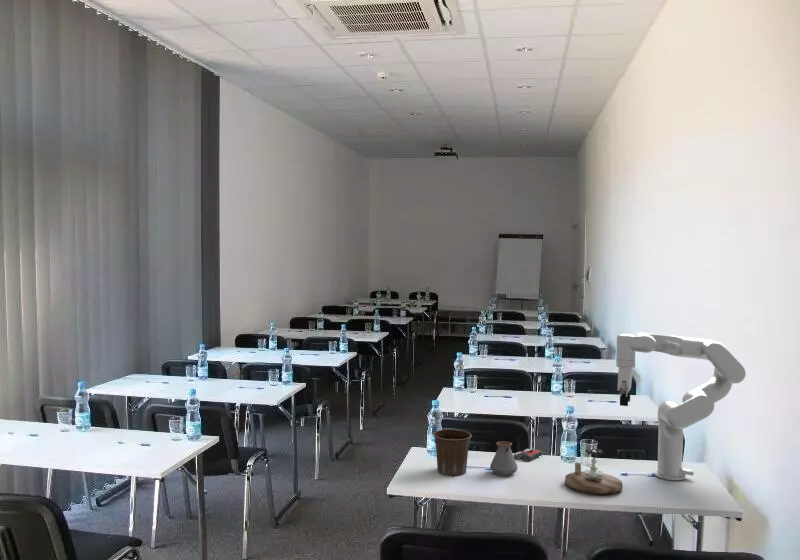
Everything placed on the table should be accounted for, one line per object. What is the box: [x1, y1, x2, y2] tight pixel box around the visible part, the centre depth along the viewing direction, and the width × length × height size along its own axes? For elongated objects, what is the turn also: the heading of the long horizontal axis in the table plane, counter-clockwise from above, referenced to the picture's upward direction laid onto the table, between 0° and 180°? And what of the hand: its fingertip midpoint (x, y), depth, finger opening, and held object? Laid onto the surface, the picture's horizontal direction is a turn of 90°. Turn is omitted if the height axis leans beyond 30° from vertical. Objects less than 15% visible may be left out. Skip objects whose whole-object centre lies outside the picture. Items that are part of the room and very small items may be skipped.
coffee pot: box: [490, 440, 518, 477], centre depth 272 cm, size 21×12×15 cm, turn 176°
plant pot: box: [433, 428, 472, 477], centre depth 277 cm, size 16×16×16 cm
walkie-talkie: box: [513, 447, 542, 462], centre depth 298 cm, size 9×4×20 cm
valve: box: [584, 447, 604, 481], centre depth 262 cm, size 7×7×12 cm
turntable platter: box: [564, 461, 623, 495], centre depth 262 cm, size 22×22×6 cm
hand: (625, 403), depth 278 cm, fingers open, 9 cm apart
